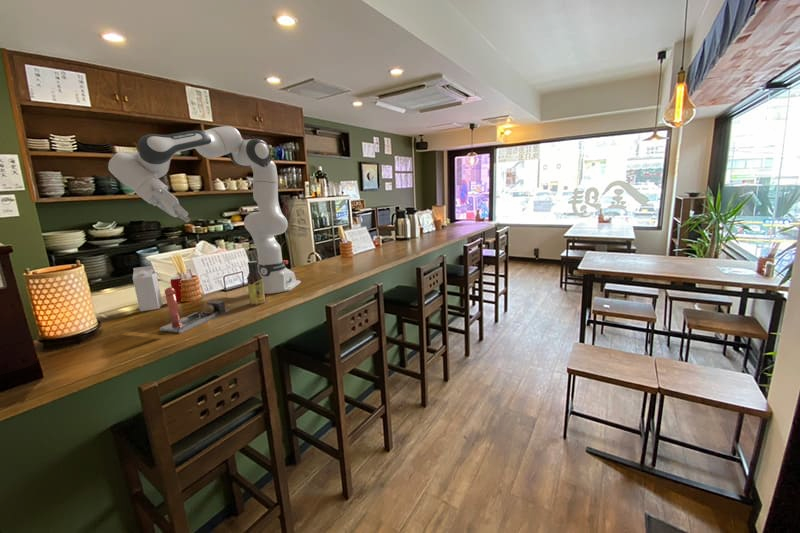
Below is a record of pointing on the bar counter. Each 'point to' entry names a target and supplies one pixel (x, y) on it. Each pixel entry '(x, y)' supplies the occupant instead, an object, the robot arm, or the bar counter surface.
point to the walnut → (208, 309)
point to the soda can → (176, 287)
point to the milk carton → (147, 288)
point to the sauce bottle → (255, 284)
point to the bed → (202, 316)
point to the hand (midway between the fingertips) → (187, 218)
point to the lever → (174, 312)
